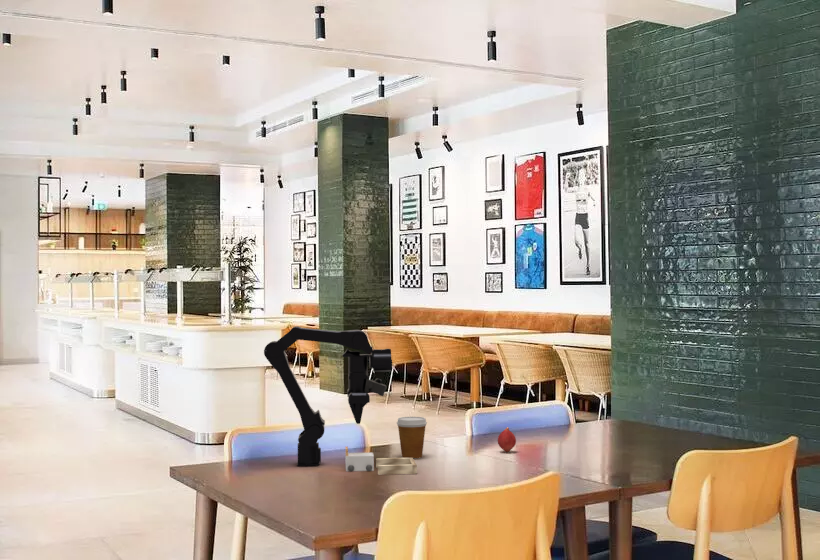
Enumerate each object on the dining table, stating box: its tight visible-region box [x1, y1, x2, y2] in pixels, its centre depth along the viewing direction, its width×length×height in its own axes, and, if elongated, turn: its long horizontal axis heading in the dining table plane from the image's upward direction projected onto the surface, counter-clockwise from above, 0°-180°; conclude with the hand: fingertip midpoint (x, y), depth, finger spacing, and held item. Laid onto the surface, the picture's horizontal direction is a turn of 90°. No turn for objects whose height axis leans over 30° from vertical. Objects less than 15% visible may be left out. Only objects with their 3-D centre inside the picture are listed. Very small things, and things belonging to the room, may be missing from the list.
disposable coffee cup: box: [396, 416, 428, 459], centre depth 293 cm, size 10×10×12 cm
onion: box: [497, 426, 517, 453], centre depth 301 cm, size 6×6×8 cm
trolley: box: [344, 446, 375, 473], centre depth 274 cm, size 8×7×6 cm
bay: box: [375, 457, 418, 476], centre depth 272 cm, size 11×12×2 cm
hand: (358, 423), depth 283 cm, fingers closed
